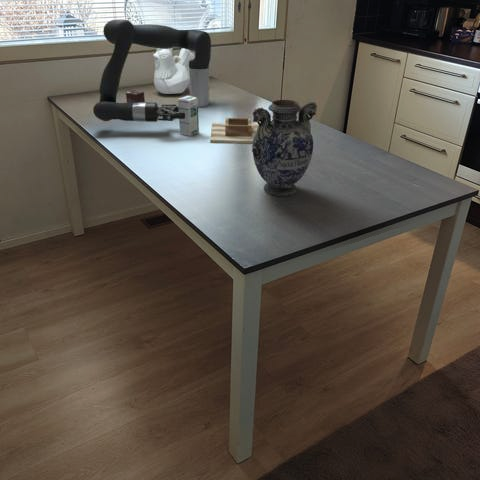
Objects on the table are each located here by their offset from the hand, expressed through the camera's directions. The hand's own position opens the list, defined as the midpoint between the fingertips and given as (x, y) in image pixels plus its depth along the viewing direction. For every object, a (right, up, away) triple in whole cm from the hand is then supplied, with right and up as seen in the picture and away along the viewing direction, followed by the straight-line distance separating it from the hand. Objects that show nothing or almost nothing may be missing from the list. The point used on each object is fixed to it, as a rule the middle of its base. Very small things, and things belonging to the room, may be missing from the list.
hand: (185, 112), depth 211 cm
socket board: (+21, -8, +5) cm, 23 cm away
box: (-27, +10, +34) cm, 44 cm away
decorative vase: (+35, -35, -42) cm, 64 cm away
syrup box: (+1, -8, +4) cm, 9 cm away
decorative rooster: (-10, +24, +59) cm, 64 cm away
